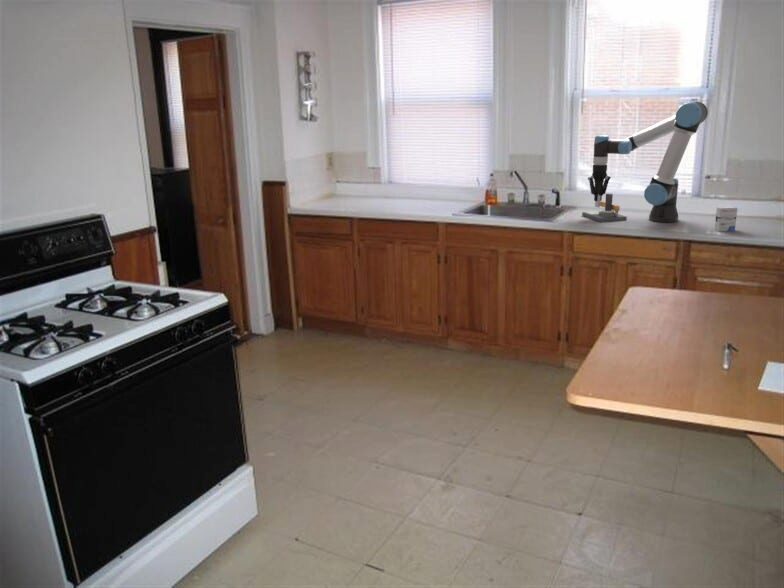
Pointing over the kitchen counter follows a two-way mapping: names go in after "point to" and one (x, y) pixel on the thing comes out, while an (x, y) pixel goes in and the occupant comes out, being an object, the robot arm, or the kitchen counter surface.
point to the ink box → (725, 218)
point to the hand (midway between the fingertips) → (597, 206)
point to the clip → (614, 207)
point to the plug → (608, 204)
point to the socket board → (604, 216)
